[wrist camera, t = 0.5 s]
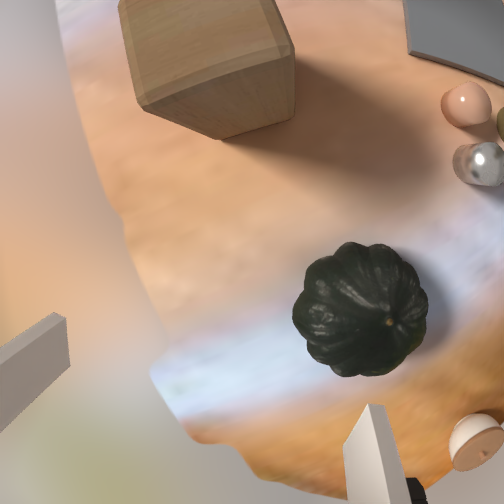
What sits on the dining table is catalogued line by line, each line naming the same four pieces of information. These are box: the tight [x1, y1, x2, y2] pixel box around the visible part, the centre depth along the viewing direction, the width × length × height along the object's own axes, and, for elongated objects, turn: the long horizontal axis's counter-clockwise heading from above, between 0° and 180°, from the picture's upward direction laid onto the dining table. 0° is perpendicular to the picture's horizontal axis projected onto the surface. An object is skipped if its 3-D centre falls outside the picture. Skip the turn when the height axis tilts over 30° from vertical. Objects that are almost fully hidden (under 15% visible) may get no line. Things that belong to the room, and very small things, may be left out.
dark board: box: [403, 0, 504, 86], centre depth 25 cm, size 18×18×2 cm
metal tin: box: [453, 142, 504, 186], centre depth 29 cm, size 5×5×6 cm
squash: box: [292, 242, 428, 377], centre depth 32 cm, size 14×15×15 cm
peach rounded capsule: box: [441, 82, 492, 128], centre depth 28 cm, size 5×5×5 cm
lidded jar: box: [449, 413, 504, 472], centre depth 36 cm, size 11×11×9 cm
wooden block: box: [118, 0, 295, 140], centre depth 24 cm, size 10×10×20 cm
